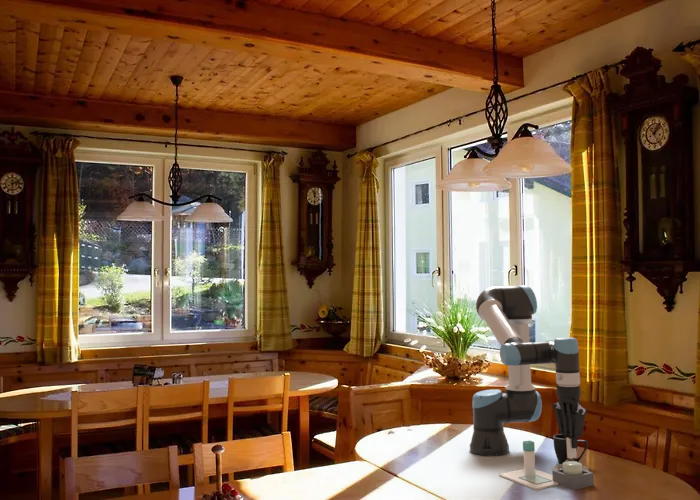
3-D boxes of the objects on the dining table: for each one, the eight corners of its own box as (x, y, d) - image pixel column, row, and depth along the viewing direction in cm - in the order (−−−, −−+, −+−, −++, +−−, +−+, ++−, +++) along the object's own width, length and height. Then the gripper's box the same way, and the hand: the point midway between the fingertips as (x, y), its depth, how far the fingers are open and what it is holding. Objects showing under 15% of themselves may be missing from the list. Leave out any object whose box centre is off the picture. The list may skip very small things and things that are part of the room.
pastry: (584, 478, 218) (584, 465, 219) (548, 474, 225) (548, 460, 225) (592, 469, 229) (591, 456, 229) (557, 465, 235) (556, 452, 235)
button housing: (552, 482, 214) (552, 470, 214) (572, 478, 218) (572, 466, 218) (573, 490, 206) (573, 477, 206) (593, 485, 210) (593, 472, 210)
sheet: (499, 475, 223) (499, 473, 223) (530, 469, 230) (530, 467, 230) (536, 490, 207) (536, 487, 207) (568, 482, 214) (568, 480, 214)
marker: (521, 475, 220) (520, 441, 221) (531, 474, 222) (529, 440, 222) (528, 478, 217) (527, 444, 217) (538, 477, 218) (536, 442, 219)
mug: (584, 468, 228) (583, 441, 228) (551, 464, 235) (549, 437, 236) (591, 463, 235) (590, 436, 235) (559, 458, 242) (557, 432, 242)
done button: (559, 475, 213) (558, 463, 214) (572, 472, 216) (571, 460, 216) (573, 480, 208) (572, 467, 208) (586, 477, 211) (585, 464, 211)
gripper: (545, 383, 218) (549, 454, 216) (575, 388, 206) (579, 463, 205) (561, 381, 221) (565, 451, 220) (591, 386, 209) (596, 460, 208)
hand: (572, 457), depth 212 cm, fingers closed
